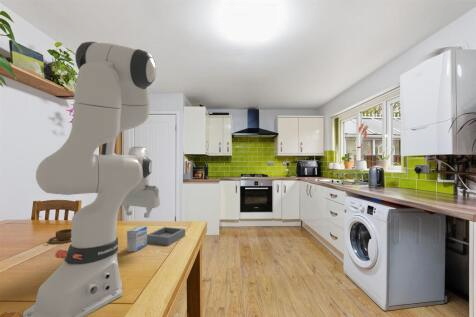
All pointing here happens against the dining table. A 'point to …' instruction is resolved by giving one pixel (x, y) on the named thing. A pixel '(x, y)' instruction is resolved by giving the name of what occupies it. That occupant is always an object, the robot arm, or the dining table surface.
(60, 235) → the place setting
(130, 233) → the medicine box
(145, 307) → the dining table surface
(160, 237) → the tray
